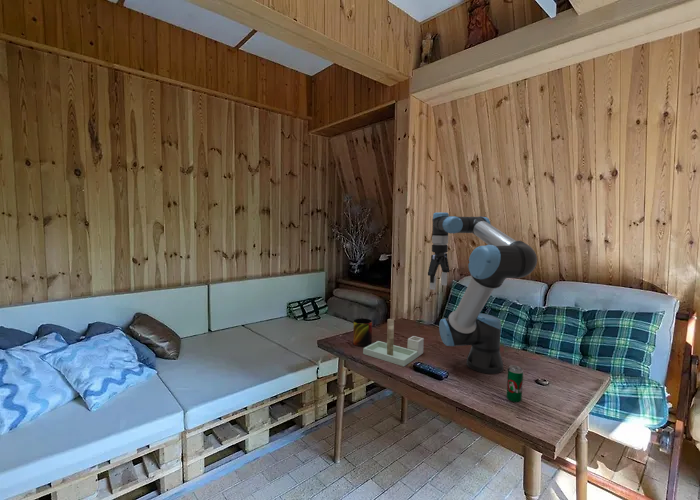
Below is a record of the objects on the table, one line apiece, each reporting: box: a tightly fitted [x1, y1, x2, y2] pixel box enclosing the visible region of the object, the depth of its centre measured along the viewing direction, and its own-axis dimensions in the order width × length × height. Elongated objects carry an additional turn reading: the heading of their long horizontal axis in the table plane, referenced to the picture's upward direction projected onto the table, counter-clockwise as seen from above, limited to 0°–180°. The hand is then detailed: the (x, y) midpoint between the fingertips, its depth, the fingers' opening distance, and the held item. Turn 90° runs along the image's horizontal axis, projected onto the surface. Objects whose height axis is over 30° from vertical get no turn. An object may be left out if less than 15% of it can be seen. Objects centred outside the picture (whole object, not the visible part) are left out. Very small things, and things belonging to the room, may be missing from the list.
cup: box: [406, 335, 425, 357], centre depth 164 cm, size 6×6×8 cm
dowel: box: [386, 318, 395, 356], centre depth 160 cm, size 3×3×17 cm
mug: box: [352, 318, 373, 348], centre depth 180 cm, size 10×14×12 cm
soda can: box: [505, 365, 524, 403], centre depth 124 cm, size 5×5×12 cm
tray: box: [362, 340, 419, 367], centre depth 161 cm, size 22×13×4 cm, turn 52°
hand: (438, 287), depth 168 cm, fingers open, 13 cm apart
